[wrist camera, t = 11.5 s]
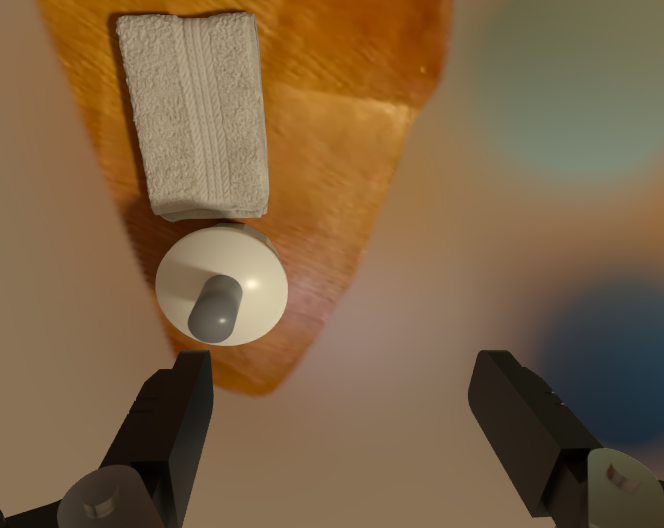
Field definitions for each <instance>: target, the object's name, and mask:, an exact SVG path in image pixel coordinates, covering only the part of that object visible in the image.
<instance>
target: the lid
mask: <svg viewBox="0 0 664 528" xmlns="http://www.w3.org/2000/svg"><path fill="white" fill-rule="evenodd" d="M155 287H156V295H157V299H158V302H159V305H160V307H161V309H162V311H163V313H164V314H165V316H166V317H167V318H168V320H169V321H170V322H171V323H172V324H173V325H174V326H175V327H176V328H177V329H179V330H180V331H181V332H183V333H184V334H186V335H187V336H189V337H191V338H193V339H195V340H198V341H201V342H204V343H207V344H212V345H220V346H232V345H240V344H244V343H248V342H251V341H253V340H256V339H258V338H259V337H261V336H263V335H264V334H266V333H267V332H269V331H270V330H271V329H272V328H273V327H274V326H275V325H276V323H277V322H278V321H279V319H280V318H281V316H282V314H283V312H284V310H285V307H286V303H287V296H288V280H287V275H286V272H285V269H284V266H283V264H282V262H281V260H280V259H279V257H278V256H277V254H276V253H275V252H274V251H273V250H272V248H271V247H270V246H268V245H267V244H266V243H265V242H264V241H262V240H261V239H259V238H258V237H256V236H254V235H252V234H250V233H248V232H245V231H242V230H239V229H234V228H228V227H211V228H205V229H201V230H197V231H195V232H192V233H190V234H188V235H186V236H185V237H183V238H181V239H180V240H179V241H178V242H176V243H175V244H174V245H173V247H172V248H171V249H170V250H169V251H168V252H167V253H166V255H165V256H164V258H163V259H162V261H161V263H160V265H159V267H158V271H157V274H156V281H155Z"/></svg>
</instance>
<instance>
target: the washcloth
mask: <svg viewBox="0 0 664 528" xmlns="http://www.w3.org/2000/svg"><path fill="white" fill-rule="evenodd" d="M116 24H117V28H116V33H117V34H118V35H119V46H120V50H121V54H122V57H123V61H124V63H123V66H124V70H125V73H126V76H127V78H126V82H127V85H128V87H129V93H130V97H131V101H130V102H131V104H132V107H133V116H134V117H133V121H134V122H135V126H136V131H137V134H138V136H137V137H138V139H139V142H140V143H139V148H140V151H141V154H142V157H143V167H144V171H145V175H146V177H147V179H146V182H147V187H148V189H147V191H148V193H149V199H150V204H151V208H152V211H153V212H154V214H155V215H160V216H161V217H163V218H164V219H166V220H167V221H169V222H173V223H174V222H175V221H179V220H182V219H211V218H213V219H216V218H260V217H261V215H264V214H266V213H267V211H268V210H267V207H268V203H267V201H268V198H269V178H268V158H267V140H266V130H265V116H264V105H263V93H262V83H261V69H260V52H259V40H258V33H257V24H256V19H255V15H254V13H247V12H241V13H238V12H237V13H233V14H232V13H226V14H224V13H223V14H219V15H216V16H210V17H208V18H193V19H192V18H186V19H183V18H178V17H177V16H176V15H159V14H158V15H154V14H151V15H141V16H135V15H131V16H128V15H124V16H122V17H119V18H118V20H117V22H116Z"/></svg>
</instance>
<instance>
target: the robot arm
mask: <svg viewBox="0 0 664 528" xmlns="http://www.w3.org/2000/svg"><path fill="white" fill-rule="evenodd" d="M213 397H214V395H213V380H212V368H211V356H210V352H209V350H182V351H181V352H180V353H179V355H178V357H177V359H176V362H175V364H174V366H173V368H172V369H159V370H158V371H157V372H156V373H155V374H153V375H152V376H151V377H150V378H149V379H148V380H147V381H146V382H144V384H143V386H142V388H141V390H140V392H139V394H138V396H137V397H136V401H134V403H133V405H132V407H131V409H130V411H129V414H127V416H126V418H125V420H124V422H123V424H122V426H121V428H120V429H119V431H118V433H117V435H116V437H115V439H114V441H113V443H112V444H111V446H110V448H109V450H108V452H107V454H106V456H105V458H104V460H103V461H102V463H101V465H100V467H99V468H98V470H95V471H93V472H91V473H89V474H88V475H86V476H84V477H83V478H82V479H80V480H79V481H78V482H76V483H75V485H73V486H72V487H71V488H70V489H69V490H68V492H67V493H66V494H65V496H64V497H63V499H61V500H59V501H57V502H54V503H51V504H48V505H45V506H42V507H39V508H36V509H32V510H29V511H26V512H23V513H20V514H17V515H13V516H10V517H7V518H4V516H3V513H2V512H1V510H0V528H182V525H183V521H184V517H185V514H186V510H187V506H188V502H189V498H190V495H191V491H192V487H193V483H194V479H195V476H196V472H197V468H198V464H199V460H200V457H201V453H202V449H203V445H204V442H205V438H206V434H207V430H208V427H209V423H210V419H211V415H212V409H213ZM468 401H469V405H470V408H471V410H472V412H473V414H474V416H475V418H476V419H477V421H478V423H479V425H480V427H481V428H482V430H483V432H484V434H485V435H486V437H487V439H488V441H489V442H490V444H491V446H492V448H493V450H494V451H495V453H496V455H497V456H498V458H499V460H500V462H501V463H502V465H503V467H504V469H505V470H506V472H507V474H508V476H509V478H510V479H511V481H512V483H513V485H514V486H515V488H516V490H517V492H518V493H519V495H520V497H521V499H522V500H523V502H524V504H525V506H526V508H527V509H528V511H529V513H530V514H531V516H532V518H533V517H552V519H553V520H554V522H555V524H556V526H555V528H664V481H661V480H657V478H656V477H655V476H654V475H653V474H652V473H651V472H650V471H649V470H648V469H647V468H646V467H645V466H643V465H642V464H641V463H639V462H638V461H636V460H635V459H633V458H631V457H630V456H628V455H626V454H623V453H621V452H618V451H616V450H611V449H606V448H604V447H603V446H602V445H601V444H600V443H599V442H598V441H597V439H595V437H594V436H593V435H592V434H591V433H590V432H589V431H588V430H587V428H586V427H585V426H584V425H583V424H582V423H581V422H580V421H579V419H578V418H577V417H576V416H575V415H574V414H573V412H572V411H571V410H570V409H569V408H568V407H567V406H565V405H564V402H563V401H562V400H561V399H560V398H559V397H558V396H557V395H555V394H554V391H553V390H552V389H551V388H550V387H549V386H548V384H547V383H546V382H545V381H544V380H543V379H542V378H541V377H539V376H538V375H536V374H535V373H534V372H532V371H531V370H529V369H528V368H526V367H522V366H521V365H520V364H519V362H518V361H517V360H516V359H515V358H514V357H513V355H512V354H511V353H510V352H509V351H507V350H482V351H480V352H479V353H478V355H477V359H476V363H475V367H474V370H473V375H472V378H471V382H470V386H469V390H468Z"/></svg>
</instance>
